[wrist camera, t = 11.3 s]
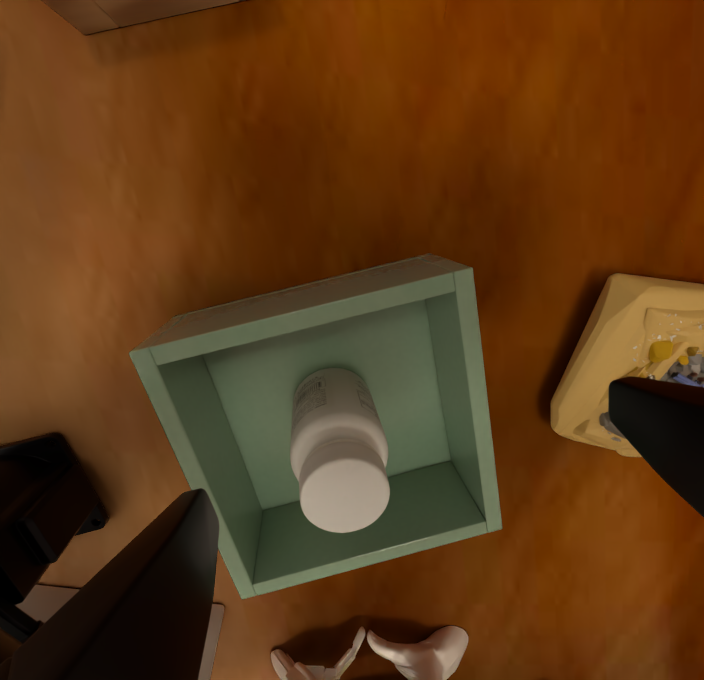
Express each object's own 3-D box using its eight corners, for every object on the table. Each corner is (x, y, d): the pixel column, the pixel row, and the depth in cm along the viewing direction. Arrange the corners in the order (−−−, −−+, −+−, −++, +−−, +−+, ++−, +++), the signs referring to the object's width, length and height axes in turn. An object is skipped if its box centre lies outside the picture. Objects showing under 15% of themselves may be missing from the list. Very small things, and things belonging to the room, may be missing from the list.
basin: (255, 517, 24) (241, 600, 19) (174, 315, 20) (127, 352, 14) (461, 462, 25) (502, 529, 19) (429, 252, 20) (473, 267, 15)
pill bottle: (289, 432, 22) (281, 543, 15) (297, 362, 21) (292, 444, 13) (364, 437, 23) (392, 545, 15) (376, 369, 21) (413, 451, 14)
